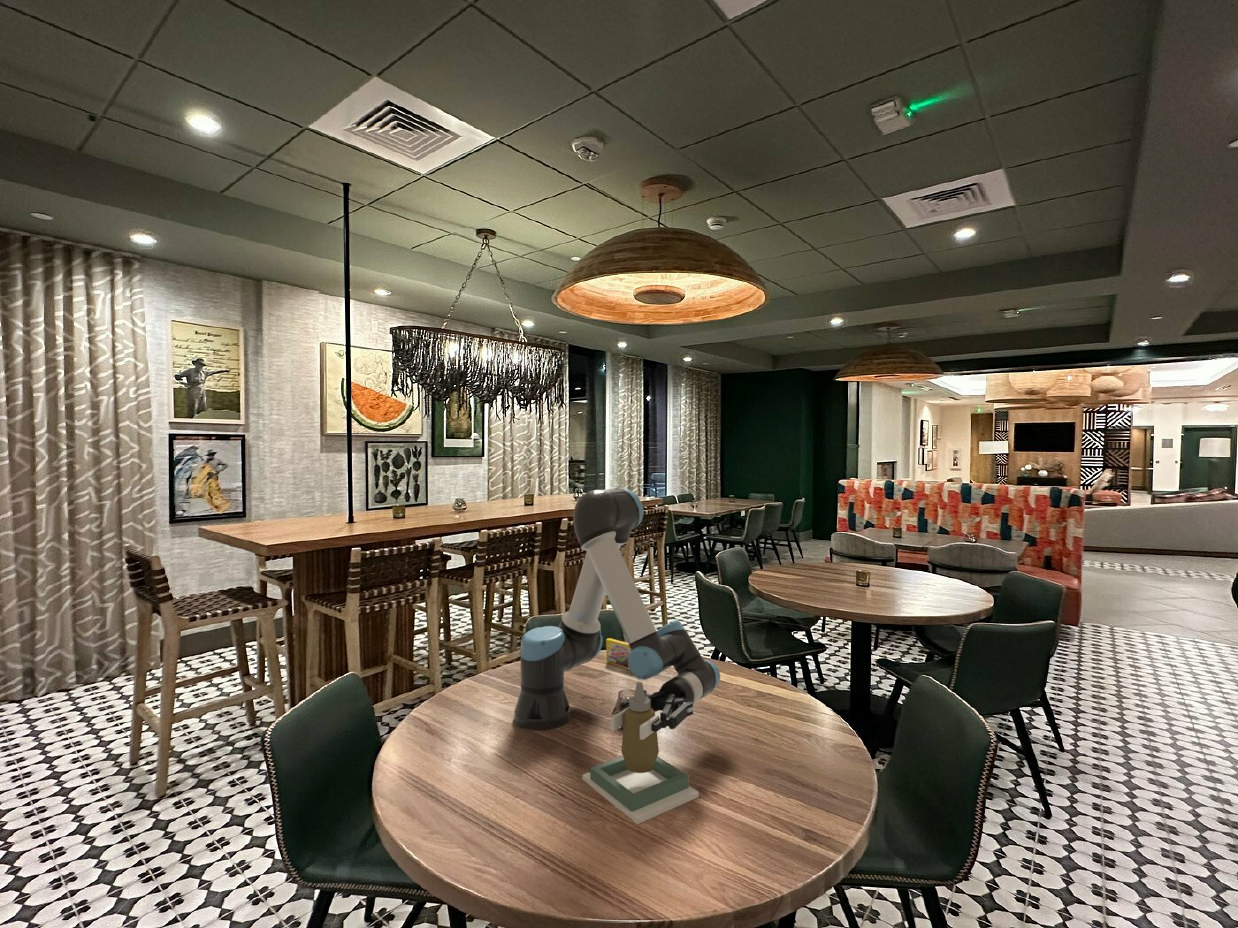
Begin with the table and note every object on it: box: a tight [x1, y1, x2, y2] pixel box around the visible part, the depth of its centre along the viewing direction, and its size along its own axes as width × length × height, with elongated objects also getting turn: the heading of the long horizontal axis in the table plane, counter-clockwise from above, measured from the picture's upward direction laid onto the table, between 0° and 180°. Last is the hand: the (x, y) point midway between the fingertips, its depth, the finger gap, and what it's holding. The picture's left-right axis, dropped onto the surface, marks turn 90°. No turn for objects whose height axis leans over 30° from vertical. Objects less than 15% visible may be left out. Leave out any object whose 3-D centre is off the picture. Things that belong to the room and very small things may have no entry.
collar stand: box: [581, 755, 700, 825], centre depth 128 cm, size 20×16×4 cm
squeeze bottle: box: [621, 681, 660, 773], centre depth 128 cm, size 8×8×18 cm
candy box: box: [605, 637, 631, 669], centre depth 203 cm, size 16×2×8 cm, turn 50°
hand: (626, 728), depth 124 cm, fingers closed on squeeze bottle, 6 cm apart
